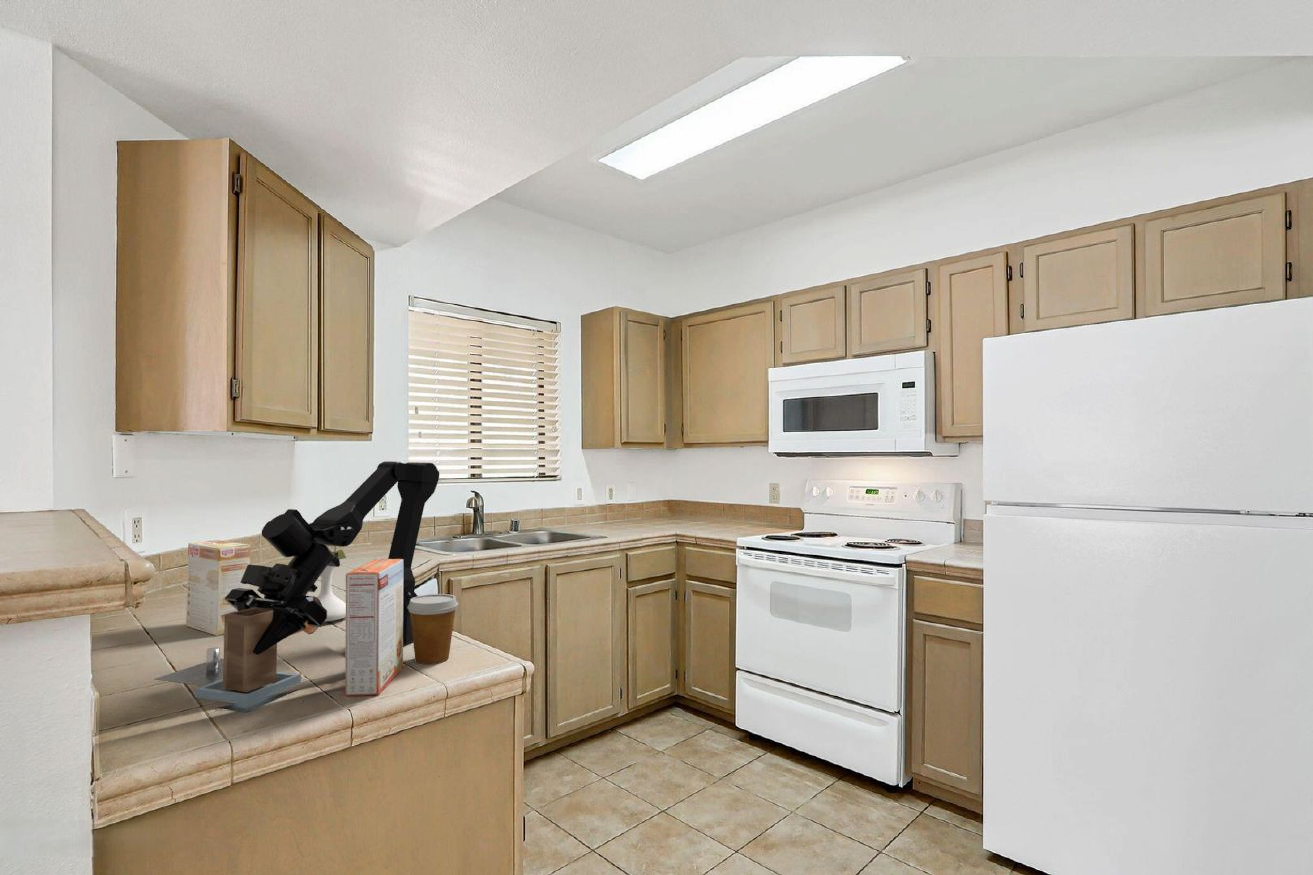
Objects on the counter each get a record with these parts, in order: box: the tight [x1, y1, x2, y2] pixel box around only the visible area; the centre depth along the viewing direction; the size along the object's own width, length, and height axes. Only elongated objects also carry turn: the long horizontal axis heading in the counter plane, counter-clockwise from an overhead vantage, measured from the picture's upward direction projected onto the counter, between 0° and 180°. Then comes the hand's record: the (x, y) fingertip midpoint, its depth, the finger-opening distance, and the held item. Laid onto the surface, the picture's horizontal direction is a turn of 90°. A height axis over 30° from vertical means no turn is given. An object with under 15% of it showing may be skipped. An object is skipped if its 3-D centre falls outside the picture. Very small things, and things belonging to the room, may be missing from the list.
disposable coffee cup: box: [407, 593, 459, 665], centre depth 129 cm, size 10×10×12 cm
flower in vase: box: [316, 546, 347, 623], centre depth 158 cm, size 13×11×25 cm
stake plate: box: [154, 646, 224, 687], centre depth 117 cm, size 12×12×5 cm
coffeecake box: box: [185, 539, 251, 637], centre depth 150 cm, size 15×7×20 cm, turn 58°
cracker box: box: [344, 558, 404, 697], centre depth 116 cm, size 14×6×21 cm, turn 5°
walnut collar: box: [223, 607, 278, 693], centre depth 109 cm, size 5×5×12 cm
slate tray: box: [194, 671, 302, 713], centre depth 108 cm, size 11×11×2 cm
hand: (243, 651), depth 107 cm, fingers closed on walnut collar, 5 cm apart
